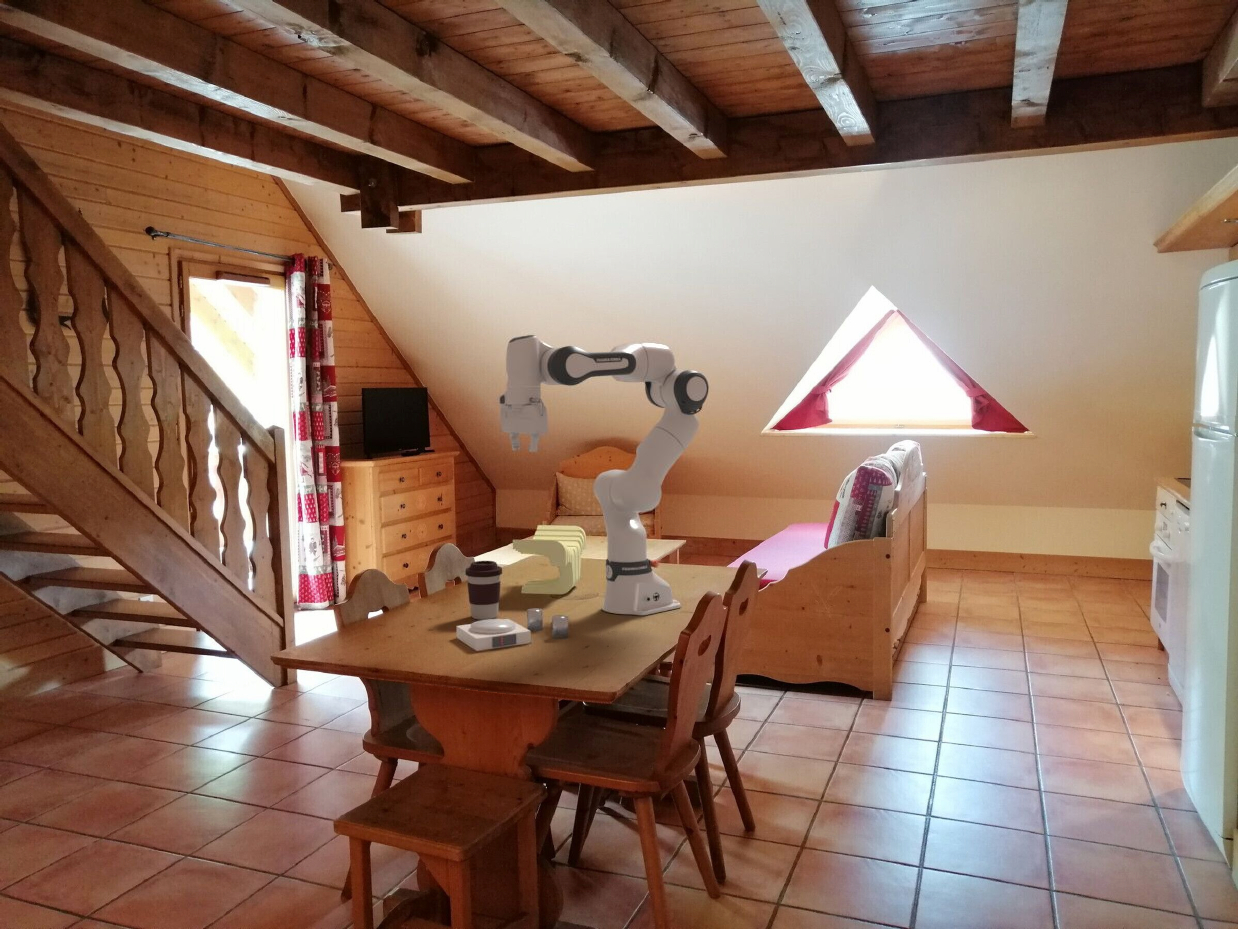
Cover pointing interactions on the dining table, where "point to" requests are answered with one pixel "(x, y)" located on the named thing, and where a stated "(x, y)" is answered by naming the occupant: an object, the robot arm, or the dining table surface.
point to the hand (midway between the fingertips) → (524, 450)
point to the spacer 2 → (560, 626)
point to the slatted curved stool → (555, 556)
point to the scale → (493, 634)
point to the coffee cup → (484, 589)
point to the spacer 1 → (535, 619)
